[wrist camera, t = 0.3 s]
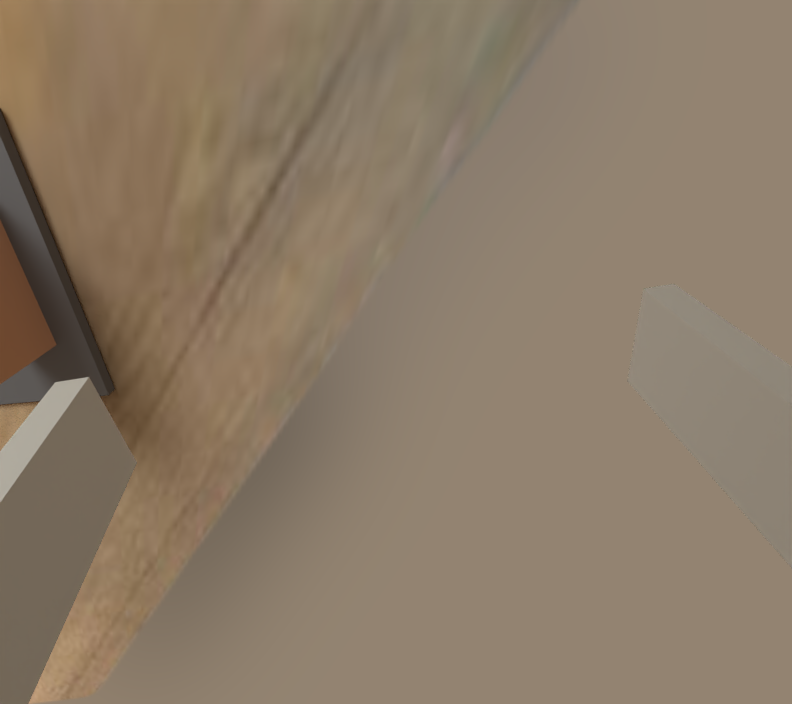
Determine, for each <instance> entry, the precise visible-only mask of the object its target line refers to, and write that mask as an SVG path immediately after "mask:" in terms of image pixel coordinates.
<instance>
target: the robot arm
mask: <svg viewBox="0 0 792 704" xmlns="http://www.w3.org/2000/svg"><path fill="white" fill-rule="evenodd" d="M628 382H629V383H630V385H631V386H632V387H633V388H634V389H635V390H636V392H637V393H638V394H639V395H640V396H641V397H642V398H643V400H644V401H645V402H646V403H647V404H648V405H649V406H650V408H651V409H652V410H653V411H654V412H655V413H656V414H657V415H658V417H659V418H660V419H661V420H662V421H663V422H664V423H665V425H666V426H667V427H668V428H669V429H670V430H671V431H672V433H673V434H674V435H675V436H676V437H677V438H678V439H679V441H681V443H682V444H683V445H684V446H685V447H686V448H687V449H688V451H689V452H690V453H691V454H692V455H693V456H694V458H695V459H696V460H697V461H698V462H699V463H700V464H701V466H703V468H704V469H705V470H706V471H707V472H708V473H709V475H710V476H711V477H712V478H713V479H714V480H715V481H716V483H718V485H719V486H720V487H721V488H722V489H723V491H724V492H725V493H726V494H727V495H728V496H729V497H730V499H731V500H732V501H733V502H734V503H735V504H736V505H737V506H738V508H739V509H740V510H741V511H742V512H743V513H744V514H745V516H746V517H747V518H748V519H749V520H750V521H751V522H752V524H753V525H754V526H755V527H756V528H757V529H758V530H759V531H760V533H761V534H762V535H763V536H764V537H765V538H766V539H767V541H768V542H769V543H770V544H771V545H772V546H773V547H774V549H775V550H776V551H777V552H778V553H779V554H780V555H781V556H782V557H783V559H784V560H785V561H786V562H787V563H788V564H789V565H790V567H791V568H792V366H791V365H789V364H788V363H786V362H785V361H783V360H782V359H781V358H779V357H778V356H776V355H775V354H773V353H772V352H771V351H769V350H768V349H766V348H765V347H764V346H762V345H761V344H759V343H758V342H756V341H755V340H753V339H752V338H751V337H749V336H748V335H746V334H745V333H744V332H742V331H741V330H739V329H738V328H736V327H735V326H734V325H732V324H731V323H729V322H728V321H727V320H725V319H724V318H722V317H721V316H719V315H718V314H717V313H715V312H714V311H712V310H711V309H709V308H708V307H707V306H705V305H704V304H702V303H701V302H700V301H698V300H697V299H695V298H694V297H692V296H691V295H690V294H688V293H687V292H685V291H684V290H682V289H681V288H680V287H678V286H677V285H675V284H670V285H664V286H658V287H652V288H645V289H643V295H642V300H641V306H640V312H639V317H638V323H637V329H636V334H635V340H634V346H633V351H632V358H631V363H630V369H629V374H628ZM136 463H137V462H136V460H135V458H134V456H133V455H132V453H131V451H130V449H129V448H128V446H127V444H126V442H125V440H124V439H123V437H122V435H121V433H120V431H119V430H118V428H117V426H116V424H115V422H114V421H113V419H112V417H111V415H110V414H109V412H108V410H107V408H106V406H105V405H104V403H103V401H102V399H101V397H100V396H99V394H98V392H97V390H96V388H95V387H94V385H93V383H92V381H91V380H90V378H89V377H85V378H79V379H73V380H67V381H60V382H55V383H54V384H53V386H52V387H51V388H50V390H49V391H48V392H47V393H46V395H45V396H44V397H43V398H42V400H41V401H40V402H39V403H38V405H37V406H36V407H35V408H34V410H33V411H32V412H31V413H30V415H29V416H28V417H27V418H26V420H25V421H24V422H23V423H22V425H21V426H20V427H19V429H18V430H17V431H16V432H15V434H14V435H13V436H12V437H11V439H10V440H9V441H8V442H7V444H6V445H5V446H4V447H3V449H2V450H1V451H0V704H28V703H29V701H30V699H31V696H32V694H33V692H34V690H35V688H36V685H37V683H38V681H39V679H40V676H41V674H42V672H43V670H44V668H45V665H46V663H47V661H48V659H49V656H50V654H51V652H52V650H53V648H54V645H55V643H56V641H57V639H58V636H59V634H60V632H61V630H62V628H63V625H64V623H65V621H66V619H67V617H68V614H69V612H70V610H71V608H72V605H73V603H74V601H75V599H76V597H77V594H78V592H79V590H80V588H81V585H82V583H83V581H84V579H85V577H86V574H87V572H88V570H89V568H90V565H91V563H92V561H93V559H94V557H95V554H96V552H97V550H98V548H99V546H100V543H101V541H102V539H103V537H104V534H105V532H106V530H107V528H108V526H109V523H110V521H111V519H112V517H113V514H114V512H115V510H116V508H117V506H118V503H119V501H120V499H121V497H122V494H123V492H124V490H125V488H126V486H127V483H128V481H129V479H130V477H131V475H132V472H133V470H134V468H135V466H136Z"/></svg>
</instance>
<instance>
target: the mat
mask: <svg viewBox="0 0 792 704" xmlns="http://www.w3.org/2000/svg"><path fill="white" fill-rule="evenodd" d="M0 220H1V222H2V225H3V227H4V229H5V231H6V233H7V236H8V238H9V240H10V242H11V245H12V247H13V249H14V251H15V253H16V256H17V258H18V260H19V262H20V265H21V267H22V269H23V271H24V273H25V276H26V278H27V280H28V282H29V285H30V287H31V289H32V291H33V293H34V296H35V298H36V300H37V302H38V305H39V307H40V309H41V311H42V313H43V316H44V318H45V320H46V322H47V324H48V327H49V329H50V331H51V333H52V336H53V338H54V340H55V342H56V344H57V345H56V346H54V347H53V348H52V349H50V350H49V351H47V352H46V353H44V354H43V355H41V356H40V357H39V358H37V359H36V360H34V361H33V362H31V363H30V364H29V365H27V366H26V367H24V368H23V369H21V370H20V371H19V372H17V373H16V374H14V375H13V376H11V377H10V378H9V379H7V380H6V381H4V382H3V383H1V384H0V404H12V403H23V402H35V401H41V400H42V398H43V397H44V396H45V395H46V393H47V392H48V391H49V390H50V388H51V387H52V386H53V384H54V383H55V382H60V381H67V380H73V379H79V378H85V377H89V378H90V380H91V381H92V383H93V385H94V387H95V388H96V390H97V392H98V394H99V396H104V395H109V394H110V393H111V392H112V391H113V390H114V389H115V388H114V386H113V383H112V381H111V379H110V376H109V374H108V371H107V369H106V366H105V364H104V361H103V359H102V357H101V354H100V352H99V349H98V347H97V344H96V342H95V340H94V337H93V335H92V332H91V330H90V327H89V325H88V322H87V320H86V318H85V315H84V313H83V310H82V308H81V305H80V303H79V301H78V298H77V296H76V293H75V291H74V288H73V286H72V283H71V281H70V279H69V276H68V274H67V271H66V269H65V266H64V264H63V262H62V259H61V257H60V254H59V252H58V249H57V247H56V245H55V242H54V240H53V237H52V235H51V232H50V230H49V227H48V225H47V223H46V220H45V218H44V215H43V213H42V210H41V208H40V206H39V203H38V201H37V198H36V196H35V193H34V191H33V188H32V186H31V184H30V181H29V179H28V176H27V174H26V171H25V169H24V167H23V164H22V162H21V159H20V157H19V154H18V152H17V149H16V147H15V145H14V142H13V140H12V137H11V135H10V132H9V130H8V128H7V125H6V123H5V120H4V118H3V115H2V113H1V111H0Z"/></svg>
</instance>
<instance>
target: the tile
mask: <svg viewBox="0 0 792 704" xmlns="http://www.w3.org/2000/svg"><path fill="white" fill-rule="evenodd" d="M56 345H57V344H56V342H55V340H54V338H53V336H52V333H51V331H50V329H49V327H48V324H47V322H46V320H45V318H44V316H43V313H42V311H41V309H40V307H39V305H38V302H37V300H36V298H35V296H34V293H33V291H32V289H31V287H30V285H29V282H28V280H27V278H26V276H25V273H24V271H23V269H22V267H21V265H20V262H19V260H18V258H17V256H16V253H15V251H14V249H13V247H12V245H11V242H10V240H9V238H8V236H7V233H6V231H5V229H4V227H3V225H2V222H1V220H0V384H1V383H3V382H4V381H6V380H7V379H9V378H10V377H11V376H13V375H14V374H16V373H17V372H19V371H20V370H21V369H23V368H24V367H26V366H27V365H29V364H30V363H31V362H33V361H34V360H36V359H37V358H39V357H40V356H41V355H43V354H44V353H46V352H47V351H49V350H50V349H52V348H53V347H54V346H56Z"/></svg>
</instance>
